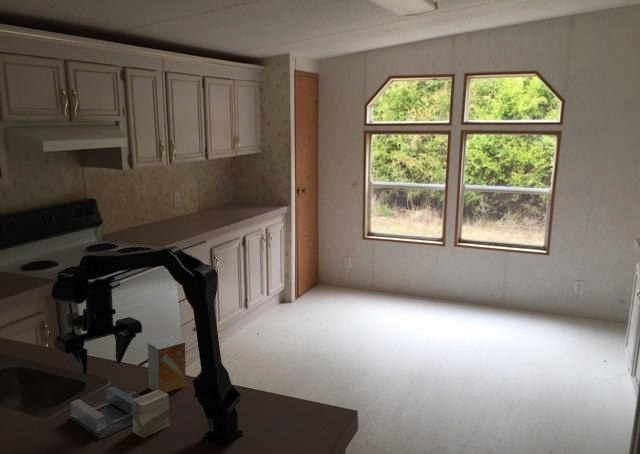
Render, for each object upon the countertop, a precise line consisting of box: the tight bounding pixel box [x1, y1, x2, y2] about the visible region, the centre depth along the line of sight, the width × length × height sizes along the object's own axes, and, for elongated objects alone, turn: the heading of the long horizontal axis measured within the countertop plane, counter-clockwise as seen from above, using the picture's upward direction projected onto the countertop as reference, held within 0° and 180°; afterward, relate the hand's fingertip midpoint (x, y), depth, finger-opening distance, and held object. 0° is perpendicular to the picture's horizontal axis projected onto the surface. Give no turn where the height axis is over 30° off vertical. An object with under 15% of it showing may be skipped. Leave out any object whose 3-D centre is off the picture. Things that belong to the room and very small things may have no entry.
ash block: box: [132, 389, 170, 439], centre depth 119 cm, size 4×7×8 cm, turn 142°
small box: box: [147, 335, 186, 394], centre depth 139 cm, size 8×6×13 cm
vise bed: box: [69, 389, 142, 440], centre depth 125 cm, size 14×16×4 cm
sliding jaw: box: [105, 386, 135, 416], centre depth 126 cm, size 12×2×3 cm, turn 52°
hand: (101, 368), depth 121 cm, fingers open, 8 cm apart
